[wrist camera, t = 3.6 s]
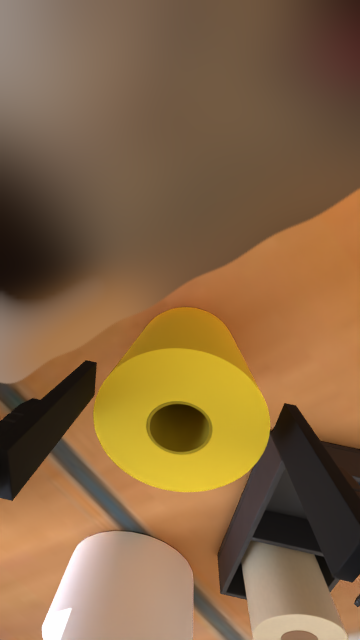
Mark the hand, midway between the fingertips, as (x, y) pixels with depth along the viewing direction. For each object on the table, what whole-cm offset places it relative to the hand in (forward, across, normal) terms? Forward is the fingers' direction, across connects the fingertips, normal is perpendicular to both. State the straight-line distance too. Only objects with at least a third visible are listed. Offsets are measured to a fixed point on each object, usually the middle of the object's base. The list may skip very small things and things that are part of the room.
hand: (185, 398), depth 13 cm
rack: (+7, +17, -19) cm, 26 cm away
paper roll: (+7, +17, -25) cm, 31 cm away
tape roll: (+7, 0, 0) cm, 7 cm away
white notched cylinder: (+7, -1, -40) cm, 41 cm away
